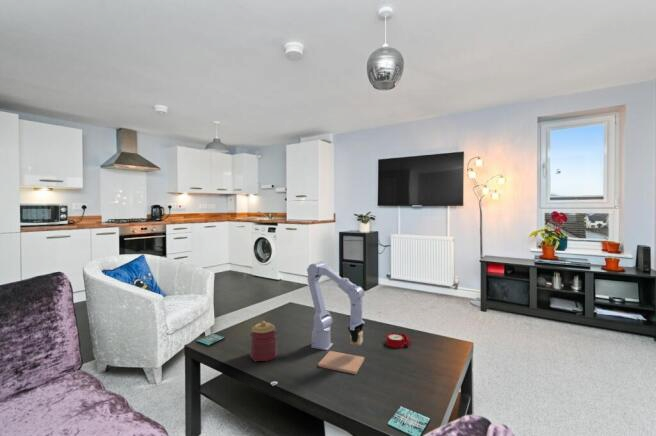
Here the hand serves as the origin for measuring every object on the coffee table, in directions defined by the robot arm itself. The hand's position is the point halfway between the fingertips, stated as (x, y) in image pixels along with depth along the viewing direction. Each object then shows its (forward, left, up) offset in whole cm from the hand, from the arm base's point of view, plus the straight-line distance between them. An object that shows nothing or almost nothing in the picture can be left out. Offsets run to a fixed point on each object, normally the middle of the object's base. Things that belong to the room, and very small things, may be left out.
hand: (356, 339), depth 152 cm
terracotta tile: (-4, -9, -8) cm, 13 cm away
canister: (-42, -17, -9) cm, 46 cm away
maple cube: (0, 0, -2) cm, 2 cm away
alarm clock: (+17, +22, -9) cm, 29 cm away
